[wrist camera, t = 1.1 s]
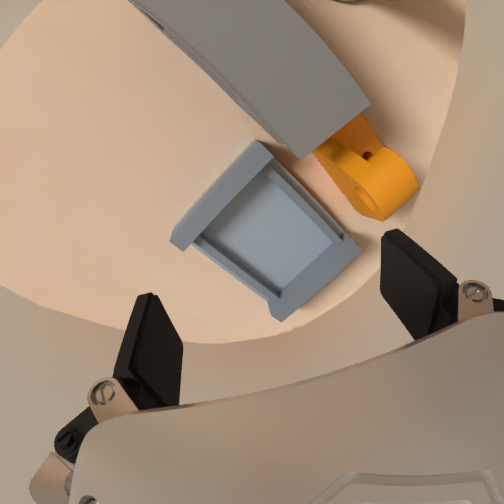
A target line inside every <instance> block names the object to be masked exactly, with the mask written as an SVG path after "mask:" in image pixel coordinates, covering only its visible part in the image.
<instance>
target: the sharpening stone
mask: <svg viewBox="0 0 504 504" xmlns="http://www.w3.org/2000/svg"><path fill="white" fill-rule="evenodd" d="M128 1H129V2H130V3H131V4H133V5H134V6H135V7H136V8H137V9H138V10H139V11H140V12H141V13H142V14H144V15H145V16H146V17H147V18H148V19H149V20H150V21H151V22H152V23H153V24H154V25H155V26H156V27H157V28H158V29H159V30H160V31H161V32H162V33H163V34H164V35H165V36H166V37H168V38H169V39H170V40H171V41H172V42H173V43H174V44H175V45H177V46H178V47H179V48H180V49H181V50H182V51H183V52H184V53H185V54H187V55H188V56H189V57H190V58H191V59H192V60H193V61H194V62H195V63H196V64H197V65H198V66H199V67H200V68H202V69H203V70H204V71H205V72H206V73H207V74H208V75H209V76H210V77H211V78H212V79H213V80H214V81H215V82H216V83H217V84H218V85H219V86H220V87H221V88H222V89H223V90H224V91H225V92H226V93H227V94H228V95H229V96H230V97H231V98H232V99H233V100H234V101H235V102H236V103H237V104H238V105H239V106H240V107H241V108H242V109H243V110H244V111H246V112H247V113H248V114H249V115H250V116H251V117H252V118H253V119H254V120H255V121H256V122H257V123H258V124H260V125H261V126H262V127H263V128H264V129H265V130H266V131H267V132H268V133H269V134H270V135H271V136H272V137H273V138H274V139H275V140H276V141H277V142H278V143H280V144H282V145H284V144H286V145H287V146H288V148H289V149H290V150H291V151H292V152H293V154H294V155H295V156H296V157H297V158H299V159H301V160H302V159H303V158H305V157H306V156H307V155H308V154H309V153H311V152H312V151H313V150H314V149H316V148H317V147H318V146H319V145H320V144H322V143H323V142H324V141H325V140H327V139H328V138H329V137H330V136H332V135H333V134H334V133H335V132H337V131H338V130H339V129H340V128H342V127H343V126H344V125H345V124H347V123H348V122H349V121H350V120H352V119H353V118H354V117H356V116H357V115H358V114H359V113H361V112H362V111H363V110H365V109H366V108H367V107H368V106H370V105H371V103H370V101H369V100H368V98H367V97H366V95H365V94H364V92H363V91H362V90H361V88H360V87H359V85H358V84H357V83H356V81H355V80H354V79H353V77H352V76H351V75H350V73H349V72H348V71H347V69H346V68H345V67H344V65H343V64H342V63H341V62H340V60H339V59H338V58H337V57H336V55H335V54H334V53H333V52H332V51H331V49H330V48H329V47H328V46H327V45H326V43H325V42H324V41H323V40H322V39H321V38H320V37H319V35H318V34H317V33H316V32H315V31H314V30H313V29H312V28H311V27H310V26H309V25H308V23H307V22H306V21H305V20H304V19H303V18H302V17H301V16H300V15H299V14H298V13H297V12H296V11H295V10H294V9H293V8H292V7H291V6H290V5H289V4H288V3H287V2H285V1H284V0H128Z"/></svg>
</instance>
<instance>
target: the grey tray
mask: <svg viewBox="0 0 504 504" xmlns="http://www.w3.org/2000/svg"><path fill="white" fill-rule="evenodd" d="M169 241H170V242H171V243H172V244H174V245H175V246H176V247H178V248H179V249H180V250H182V251H183V252H184V251H185V250H186V249H187V247H188V246H189V245H190V244H191V245H193V246H194V247H195V248H196V249H198V250H199V251H200V252H202V253H203V254H204V255H206V256H207V257H208V258H210V259H211V260H212V261H214V262H215V263H216V264H218V265H219V266H220V267H221V268H223V269H224V270H225V271H227V272H228V273H229V274H231V275H232V276H233V277H235V278H236V279H238V280H239V281H240V282H242V283H243V284H244V285H246V286H247V287H248V288H250V289H251V290H252V291H254V292H255V293H256V294H258V295H259V296H261V297H262V298H263V299H265V300H266V301H267V302H268V305H269V309H270V313H271V316H273V317H274V318H276V319H277V320H279V321H280V322H283V321H284V320H285V319H286V318H287V317H289V316H290V315H291V314H292V313H293V312H295V311H296V310H297V309H298V308H299V307H301V306H302V305H303V304H304V303H305V302H306V301H308V300H309V299H310V298H311V297H312V296H313V295H315V294H316V293H317V292H318V291H319V290H320V289H321V288H323V287H324V286H325V285H326V284H327V283H328V282H329V281H330V280H332V279H333V278H334V277H335V276H336V275H337V274H338V273H339V272H340V271H342V270H343V269H344V268H345V267H346V266H347V265H348V264H349V263H350V262H351V261H352V260H353V259H355V258H356V257H357V256H358V255H359V254H360V253H361V252H362V250H361V249H360V248H359V247H358V246H357V244H356V243H355V242H354V241H353V240H352V239H351V238H350V237H349V236H348V235H347V234H346V233H345V232H344V231H343V229H342V228H341V227H340V226H339V225H338V224H337V223H336V222H335V220H334V219H333V218H332V217H331V216H330V215H329V214H328V213H327V212H326V211H325V209H324V208H323V207H322V206H321V205H320V204H319V203H318V202H317V201H316V200H315V199H314V198H313V197H312V196H311V195H310V193H309V192H308V191H307V190H306V189H305V188H304V187H303V186H302V185H301V184H300V183H299V182H298V181H297V180H296V179H295V178H294V177H293V176H292V175H291V174H290V173H289V172H288V171H287V170H286V169H285V168H284V167H283V166H282V165H281V164H280V163H279V162H278V161H277V160H276V159H275V158H274V156H273V155H272V154H271V153H270V152H269V151H268V150H267V149H266V148H265V147H264V146H263V145H262V144H261V143H260V142H258V141H256V140H254V141H253V142H252V143H251V144H250V145H249V146H248V147H247V148H246V149H245V150H244V151H243V152H242V153H241V154H240V155H239V156H238V157H237V158H236V159H235V160H234V161H233V162H232V163H231V164H230V165H229V166H228V168H227V169H226V170H225V171H224V172H223V173H222V174H221V175H220V176H219V177H218V178H217V179H216V180H215V181H214V182H213V184H212V185H211V186H210V187H209V188H208V189H207V190H206V191H205V192H204V193H203V194H202V196H201V197H200V198H199V199H198V200H197V201H196V202H195V203H194V205H193V206H192V207H191V208H190V209H189V210H188V211H187V212H186V214H185V215H184V216H183V217H182V218H181V219H180V221H179V222H178V223H177V224H176V225H175V226H174V229H173V232H172V235H171V237H170V240H169Z"/></svg>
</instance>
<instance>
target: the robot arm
mask: <svg viewBox="0 0 504 504" xmlns="http://www.w3.org/2000/svg"><path fill="white" fill-rule="evenodd" d="M340 1H356V0H340ZM380 291H381V294H382V296H383V298H384V299H385V300H386V301H387V303H388V304H389V305H390V307H391V308H392V309H393V311H394V312H395V313H396V315H397V316H398V318H399V319H400V320H401V322H402V323H403V324H404V326H405V327H406V329H407V330H408V331H409V333H410V334H411V336H412V337H413V338H414V340H415V341H413V342H411V343H409V344H407V345H404V346H402V347H399V348H397V349H394V350H392V351H390V352H387V353H384V354H382V355H379V356H377V357H374V358H371V359H368V360H366V361H363V362H360V363H357V364H354V365H351V366H348V367H346V368H342V369H339V370H336V371H333V372H330V373H327V374H323V375H320V376H317V377H313V378H310V379H307V380H303V381H299V382H296V383H292V384H288V385H284V386H280V387H276V388H272V389H267V390H263V391H258V392H254V393H249V394H244V395H239V396H234V397H229V398H223V399H217V400H211V401H204V402H199V403H192V404H184V405H179V397H180V383H181V370H182V357H183V343H182V341H181V339H180V337H179V335H178V333H177V331H176V330H175V328H174V326H173V324H172V322H171V320H170V318H169V316H168V315H167V313H166V311H165V309H164V307H163V305H162V303H161V301H160V299H159V297H158V296H157V295H153V294H152V293H147V294H142V295H139V296H138V297H137V299H136V302H135V305H134V308H133V311H132V314H131V317H130V320H129V323H128V326H127V329H126V332H125V335H124V338H123V341H122V345H121V347H120V351H119V354H118V357H117V361H116V364H115V368H114V373H113V377H106V378H102V379H100V380H98V381H97V382H95V383H94V384H93V385H92V387H91V388H90V390H89V392H88V396H87V400H88V404H89V407H88V408H86V409H85V410H84V411H83V412H82V413H80V414H79V415H78V416H77V417H76V418H75V419H73V420H72V421H71V422H70V423H68V424H67V425H66V426H65V427H64V428H62V429H61V430H60V431H59V432H58V434H57V436H56V438H55V441H54V447H55V450H56V452H55V453H53V452H50V454H49V455H48V457H47V458H46V460H45V461H44V463H43V464H42V465H41V467H40V468H39V470H38V471H37V472H36V474H35V475H34V477H33V478H32V480H31V482H30V486H29V490H30V494H31V496H32V498H33V499H34V500H35V502H36V503H37V504H504V300H500V299H495V298H492V293H491V290H490V289H489V288H488V287H487V286H486V285H485V284H484V283H482V282H480V281H476V280H468V281H464V282H463V283H461V285H459V284H458V283H457V278H456V277H455V276H454V275H453V274H451V273H450V272H449V271H448V270H447V269H446V268H445V267H444V266H443V265H441V264H440V263H439V262H438V261H437V260H436V259H435V258H433V257H432V256H431V255H430V254H429V253H427V252H426V251H425V250H424V249H423V248H422V247H420V246H419V245H418V244H417V243H415V242H414V241H413V240H412V239H411V238H409V237H408V236H407V235H405V234H404V233H403V232H402V231H400V230H399V229H393V230H390V231H386V232H385V233H384V236H382V238H381V277H380Z"/></svg>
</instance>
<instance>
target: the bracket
mask: <svg viewBox="0 0 504 504" xmlns="http://www.w3.org/2000/svg"><path fill="white" fill-rule="evenodd" d="M312 152H313V153H314V154H315V156H316V157H317V158H318V161H319V162H320V164H321V165H322V166H323V168H324V169H325V170H326V172H327V173H328V174H329V175H330V177H331V178H332V180H333V181H334V182H335V184H336V185H337V186H338V188H339V189H340V190H341V192H342V193H343V194H344V195H345V196H346V197H347V199H348V200H349V201H350V203H351V204H352V206H353V207H354V209H355V210H356V211H357V212H359V213H360V214H361V215H364V216H367V217H370V218H373V219H376V220H379V221H382V222H384V221H385V220H386V219H387V218H388V217H390V216H391V215H392V214H393V213H394V212H395V211H396V210H397V209H398V208H400V207H401V206H402V205H403V204H404V203H405V202H406V201H407V200H408V199H409V198H411V197H412V196H413V195H414V194H415V193H416V192H417V191H418V188H419V187H418V182H417V179H416V177H415V175H414V173H413V172H412V170H411V169H410V167H409V166H408V165H407V163H406V162H405V161H404V160H403V159H402V158H401V157H400V156H399V155H398V154H397V153H395V152H394V151H392V150H391V149H389V148H386V147H383V145H382V144H381V142H380V141H379V139H378V137H377V136H376V134H375V133H374V131H373V130H372V128H371V126H370V125H369V123H368V122H367V120H366V119H365V117H364V116H363V115H362V114H361V113H359V114H358V115H357V116H356V117H354V118H353V119H352V120H350V121H349V122H348V123H347V124H345V125H344V126H343V127H342V128H340V129H339V130H338V131H337V132H335V133H334V134H333V135H332V136H330V137H329V138H328V139H327V140H325V141H324V142H323V143H322V144H320V145H319V146H318V147H317V148H316V149H314V150H313V151H312ZM362 156H363V157H362Z"/></svg>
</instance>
